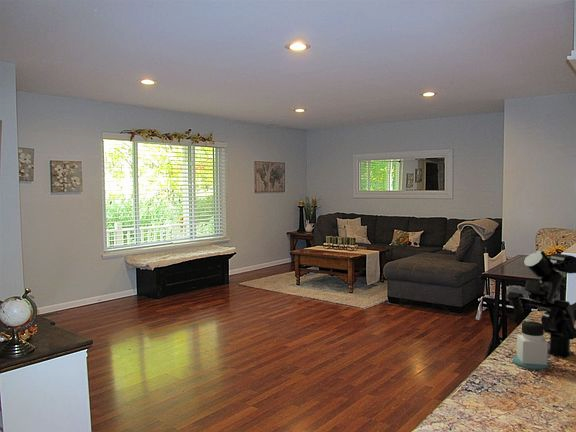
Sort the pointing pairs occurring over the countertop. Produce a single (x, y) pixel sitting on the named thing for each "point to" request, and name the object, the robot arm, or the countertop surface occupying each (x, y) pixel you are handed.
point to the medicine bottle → (532, 344)
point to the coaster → (528, 366)
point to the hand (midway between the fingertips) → (529, 326)
